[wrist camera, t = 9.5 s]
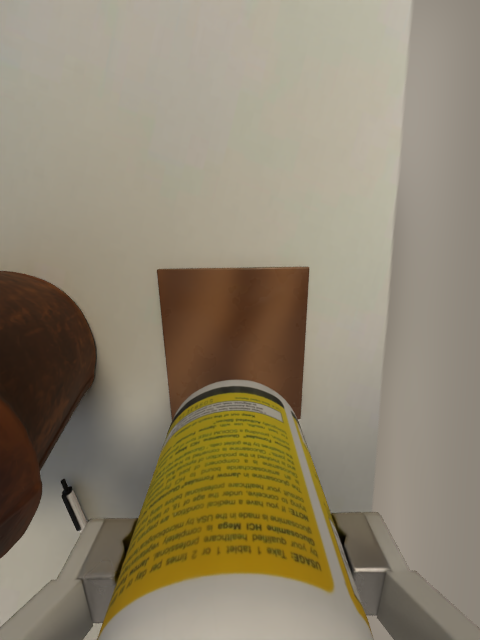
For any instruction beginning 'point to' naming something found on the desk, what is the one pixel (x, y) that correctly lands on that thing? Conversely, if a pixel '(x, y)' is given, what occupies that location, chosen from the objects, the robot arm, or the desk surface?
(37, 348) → the case
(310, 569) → the pill bottle
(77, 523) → the pen
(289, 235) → the desk surface
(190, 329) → the brown wooden coaster
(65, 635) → the robot arm
